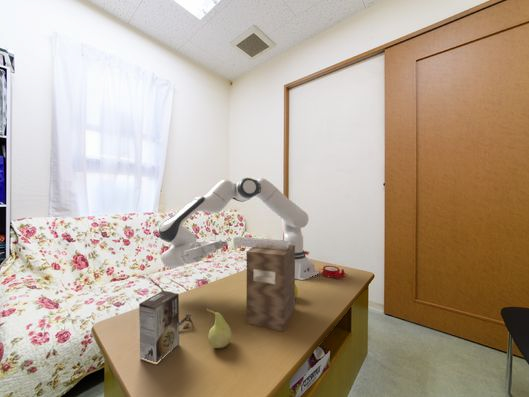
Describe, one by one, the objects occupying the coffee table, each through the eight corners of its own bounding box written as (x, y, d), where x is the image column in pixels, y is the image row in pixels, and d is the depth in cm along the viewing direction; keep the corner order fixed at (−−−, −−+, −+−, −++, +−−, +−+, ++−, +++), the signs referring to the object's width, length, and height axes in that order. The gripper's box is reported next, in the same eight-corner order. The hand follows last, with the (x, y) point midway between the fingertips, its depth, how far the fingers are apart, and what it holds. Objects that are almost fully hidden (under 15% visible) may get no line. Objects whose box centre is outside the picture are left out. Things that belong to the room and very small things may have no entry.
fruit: (232, 352, 64) (232, 311, 64) (206, 356, 63) (205, 314, 63) (231, 337, 71) (230, 301, 71) (207, 341, 69) (207, 303, 69)
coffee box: (163, 340, 70) (163, 289, 70) (180, 344, 68) (179, 292, 68) (138, 360, 61) (138, 303, 61) (156, 366, 59) (156, 307, 59)
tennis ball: (300, 300, 96) (300, 284, 96) (286, 303, 93) (286, 287, 93) (292, 294, 103) (292, 279, 102) (279, 296, 100) (279, 281, 100)
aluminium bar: (233, 245, 88) (233, 238, 88) (237, 244, 91) (237, 236, 91) (286, 250, 80) (286, 242, 80) (288, 248, 83) (288, 240, 83)
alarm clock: (326, 264, 136) (349, 264, 125) (328, 274, 135) (351, 275, 124) (316, 268, 128) (340, 268, 118) (318, 279, 128) (342, 280, 117)
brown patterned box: (245, 323, 79) (245, 251, 78) (262, 302, 94) (262, 242, 94) (283, 332, 74) (283, 255, 73) (294, 308, 89) (294, 245, 89)
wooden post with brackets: (196, 322, 78) (191, 313, 77) (175, 340, 73) (169, 330, 72) (194, 320, 79) (189, 310, 78) (173, 337, 75) (167, 327, 74)
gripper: (176, 249, 87) (204, 241, 83) (205, 241, 106) (229, 234, 102) (179, 265, 86) (208, 257, 82) (208, 254, 106) (233, 247, 102)
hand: (220, 245), depth 92 cm, fingers open, 8 cm apart
